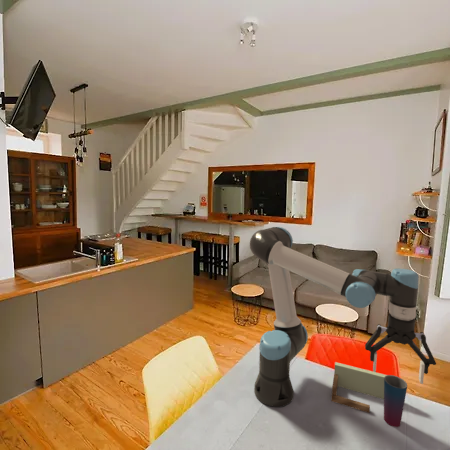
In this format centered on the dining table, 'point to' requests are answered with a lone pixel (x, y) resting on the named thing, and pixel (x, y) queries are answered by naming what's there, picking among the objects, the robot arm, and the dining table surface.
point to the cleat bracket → (345, 400)
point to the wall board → (360, 380)
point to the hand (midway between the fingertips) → (396, 375)
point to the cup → (394, 399)
